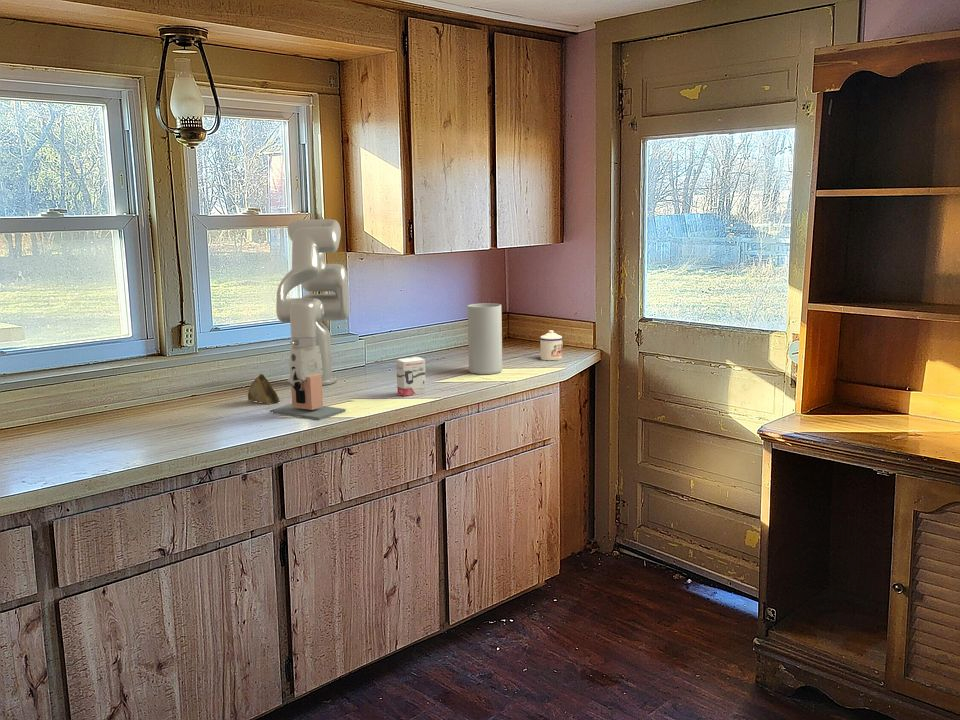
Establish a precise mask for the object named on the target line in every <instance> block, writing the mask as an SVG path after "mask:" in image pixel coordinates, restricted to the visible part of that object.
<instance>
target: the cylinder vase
mask: <svg viewBox="0 0 960 720" xmlns="http://www.w3.org/2000/svg"><path fill="white" fill-rule="evenodd" d="M502 316H503V315H502V304H500V303H490V302H489V303H488V302H487V303H471V304H468V305H467V338H468V342H467V343H468V344H467V345H468V372H470V373H471V374H474V373H476V374H475V375H494V373H496V374H499V373H501V372H502V371H503V333H502V331H503V327H502V326H503V325H502V322H503V320H502Z"/></svg>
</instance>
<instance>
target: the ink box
mask: <svg viewBox="0 0 960 720" xmlns="http://www.w3.org/2000/svg"><path fill="white" fill-rule="evenodd" d="M395 363H396V386H397V395H399V394H400V395H399V396H402V395H403V396H402V397H407V396H406V395H411V396H414V395H413V394H417V395H421V394H420V393H424V394H427V388H426V387H427V384H426V383H427V382H426V359H425V358H421V357H420V356H413V357H407V358H406V357H405V358H399V359H396V361H395Z"/></svg>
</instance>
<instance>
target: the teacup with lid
mask: <svg viewBox="0 0 960 720" xmlns="http://www.w3.org/2000/svg"><path fill="white" fill-rule="evenodd" d="M539 341H540V342H539V343H540V348H539V349H540V360H542V361H546V360H557V361H560V359H561V360H562V359H563V344H564V343H563V336H562V335H560V334H558V333H557V332H555V331H554V330H551V329H550V330H548V332H547V333H545V334H543V335H541V336H540V337H539Z"/></svg>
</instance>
